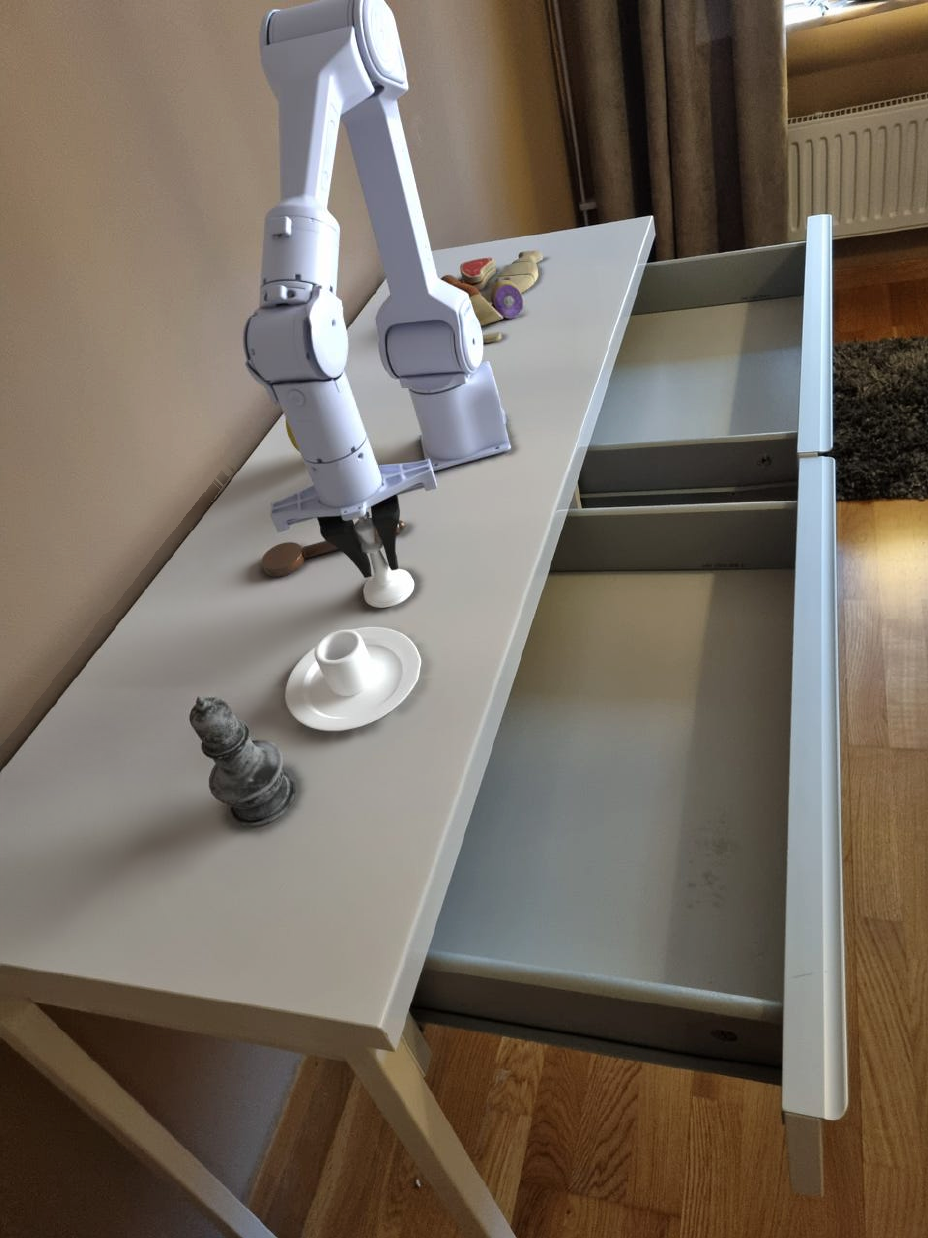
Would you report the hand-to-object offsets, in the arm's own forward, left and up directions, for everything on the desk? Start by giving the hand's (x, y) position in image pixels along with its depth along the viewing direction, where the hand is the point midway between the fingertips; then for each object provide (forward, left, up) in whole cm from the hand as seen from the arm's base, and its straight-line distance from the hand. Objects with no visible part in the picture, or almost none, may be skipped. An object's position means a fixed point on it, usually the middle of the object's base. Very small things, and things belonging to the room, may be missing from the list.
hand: (380, 567), depth 83 cm
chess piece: (0, 0, -3) cm, 3 cm away
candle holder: (+4, +11, -3) cm, 12 cm away
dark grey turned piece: (+12, +21, -3) cm, 24 cm away
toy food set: (-18, -59, -3) cm, 62 cm away
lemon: (+6, -28, -3) cm, 29 cm away
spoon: (+6, -9, -3) cm, 11 cm away
